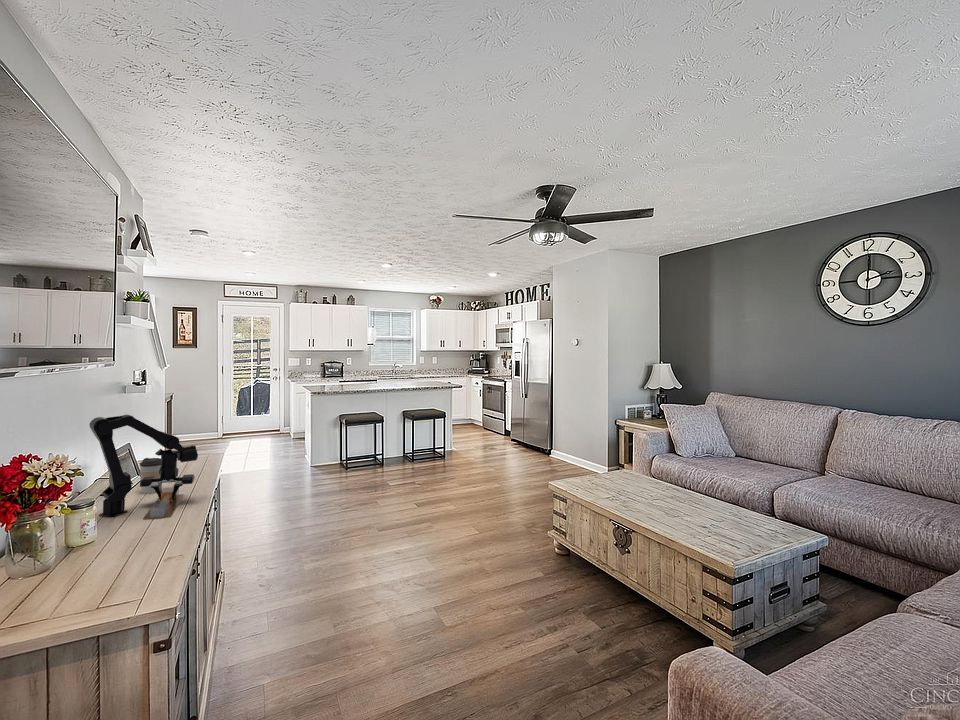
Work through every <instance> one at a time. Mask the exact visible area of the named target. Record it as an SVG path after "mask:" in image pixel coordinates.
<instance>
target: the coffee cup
mask: <svg viewBox="0 0 960 720" xmlns="http://www.w3.org/2000/svg"><path fill="white" fill-rule="evenodd" d="M160 467H161V457H160V458H159V457H145V458H143V459H142V460H141V462H140V463H139V468H140V469H139V477H140V481H141V480H142V479H143V478H144V477H151V476H154V477H155V479H158V478H160V474H159V469H160ZM140 489H141V490H140V492H141V493H142V494H153V493H156V491H155V490H154V488H151V485H150V486H145V487H140Z"/></svg>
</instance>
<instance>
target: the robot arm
mask: <svg viewBox="0 0 960 720" xmlns="http://www.w3.org/2000/svg"><path fill="white" fill-rule="evenodd" d="M127 426H128V427H130V428H132V429H134V430H136V431H137V432H140V433H142V434H144V435H145V436H147V437H150V438H151V439H152V440H154V442H155V443H157V444H159V445H160V446H161V447H163V448H165V449H162V448H159V449H158V450H157V451H156V452H155V455H157V456H161V457H160V459H161V467H160V469H159V474H160V478H158V479H155V477H154V476H151V477H144V478H143V479H142V480H141V481H140V482H139V487H140V488H141V487H145V486H150V485H151V488H154V490H155V491H156V492H155V493H156V495H157V497H158V498H159V499H160V501H161V493H162V491H163V490H162V488H163V487H162V486H163V484H164V483H165V484H166V483H167V484H168V483H175V484H173V487H174V489H173V496H172V499H173V500H174V498H175V496H176V493H177V491H178V489H179V490H180V487H182V486H184V485H192V484H194V481H195V475H194V474H193V473H191V474H183V475H182V476H180V477H179V468H178V465H177V463H178V461H179V462H180V463H188V462H194V461H196V462H197V460H198V458H199V457H198V456H199V454H198V450H197V446H196V445H194V444H193V445H188V446H182V444H181V443H180V438H179V437H178V436H176V435H173V434H171V433H167V432H165V431H161V430H159V429H156V428H154V427H152V426H151V425H148V424H147V423H145V422H143V421H140V420H139V419H137V418H135V417H134V416H133V415H130V414H124V415H118V416H109V417H102V416H98V417H95V418H92V420H91V421H90V422H89V428H90V430H91V432H92V433H93V435H94V436H95V438H96V439H97V440H98V442H99V445H100V448H101V452H102V454H103V457H104V461H105V463H106V467H107V470H108V472H109V476H108V477H109V478H108V485H109V486H108V487H107V488H105V490H103V491H102V492H101V493H102V495H103V497H104V498H105V499H103V503H102V512H101V513H99V515H98V516H100V517H109V518H114V517H118V516H120V515H122V514H125V513H127V512H128V509H125V502H126V500H125V499H126V496H127V495H128V494H129V493H130V491H131V490H132V487H133V484H134V483H133V482H132V479H131V477H132V476H131V474H130V473H128V472H127V471H123V468H122V465H121V462H120V459H119V455H118V453H117V449H116V446H115V444H114V440H113V438H114V437H113V436H114V430H118V429H120V428H124V427H127Z"/></svg>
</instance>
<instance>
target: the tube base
mask: <svg viewBox="0 0 960 720" xmlns="http://www.w3.org/2000/svg"><path fill="white" fill-rule="evenodd" d="M173 489H174V486H171V487H170V486H169V487H164V488H163V490H162V491H167V490H173ZM184 496H185V495H184V493H181V494H180V488H179V489H178V491H177V493H176V496H175V498H174V500H173V501H172V502H170V500H167V501H160V499H159V497H158V498H157V499H156V500H155V502H154V504H153V505H152V506H151V507H150V509H149V510H148V511H147V513H146V514H145V515H144V517H143V520H151V519H152V520H153V519H164V518H166V517H167V518H171V517H172V515H173V514H174V512H175V511H176V509H177V507H178V506H179V504H180V502H181V500H182V499H183V497H184Z"/></svg>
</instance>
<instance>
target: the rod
mask: <svg viewBox="0 0 960 720" xmlns="http://www.w3.org/2000/svg"><path fill="white" fill-rule="evenodd" d="M172 496H173V490H167V491H163V490H162V493H161V501H167V500H170V502H172V501H173V499H172Z"/></svg>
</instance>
